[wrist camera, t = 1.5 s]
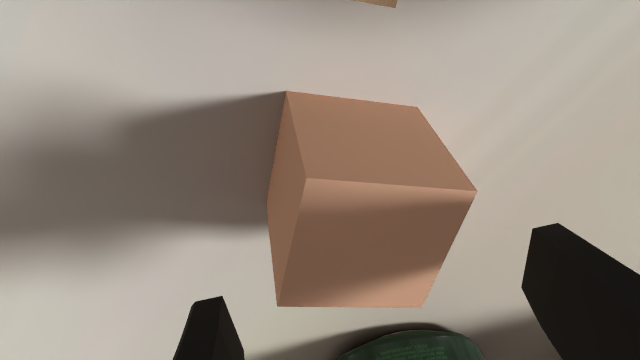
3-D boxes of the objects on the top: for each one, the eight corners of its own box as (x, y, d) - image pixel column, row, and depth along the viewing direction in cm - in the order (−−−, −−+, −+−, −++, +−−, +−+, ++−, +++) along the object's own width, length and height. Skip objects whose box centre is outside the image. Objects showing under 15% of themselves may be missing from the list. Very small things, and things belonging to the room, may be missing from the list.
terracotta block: (416, 106, 15) (477, 191, 11) (380, 209, 17) (420, 307, 14) (285, 89, 14) (306, 178, 10) (266, 202, 16) (276, 306, 12)
